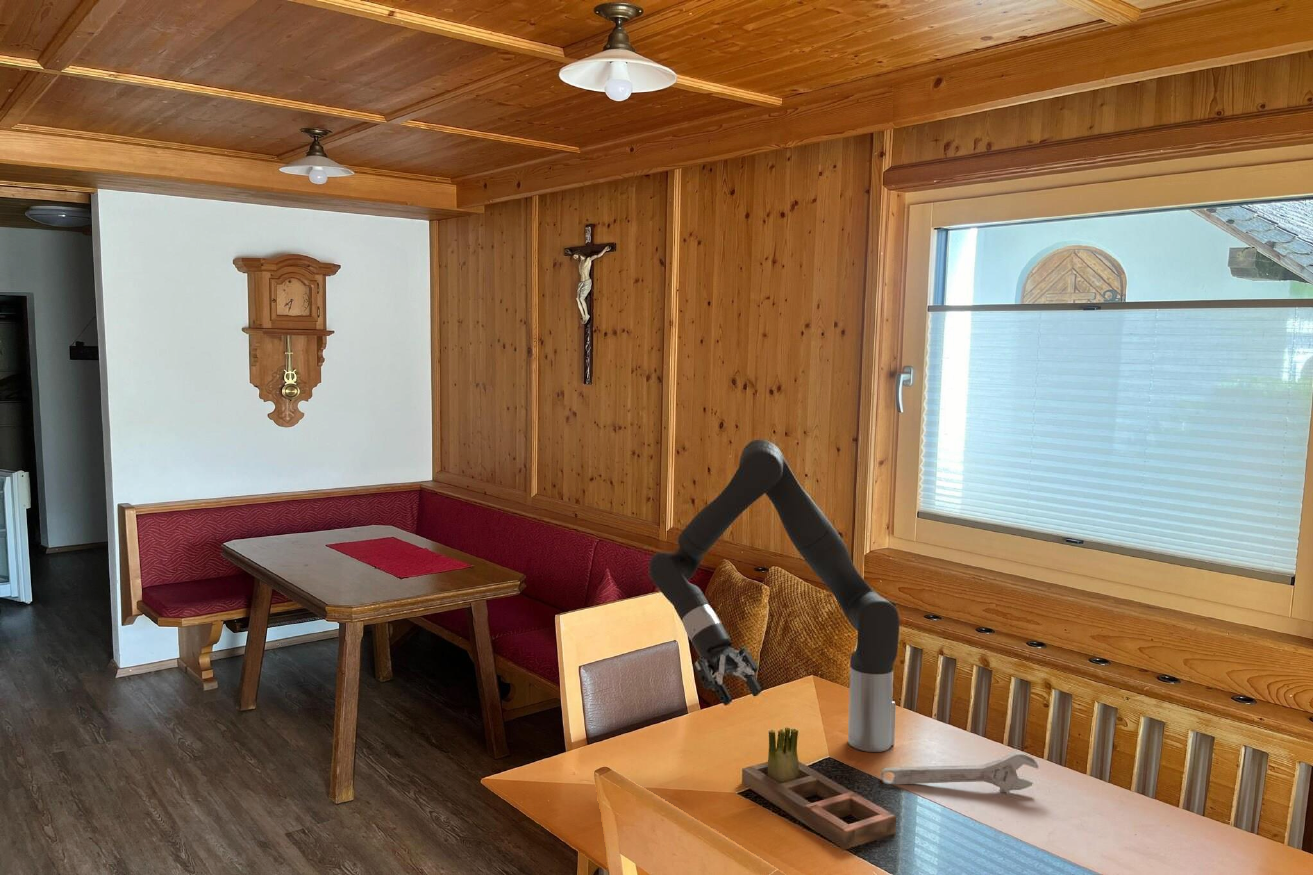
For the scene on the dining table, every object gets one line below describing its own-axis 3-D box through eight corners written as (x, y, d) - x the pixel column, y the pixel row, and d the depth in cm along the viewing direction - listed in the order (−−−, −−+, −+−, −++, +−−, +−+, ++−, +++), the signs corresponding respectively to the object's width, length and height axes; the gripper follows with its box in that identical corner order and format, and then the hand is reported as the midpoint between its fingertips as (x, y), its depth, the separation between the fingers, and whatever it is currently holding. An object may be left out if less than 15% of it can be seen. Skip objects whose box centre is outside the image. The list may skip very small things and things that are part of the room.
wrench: (882, 794, 191) (1038, 790, 186) (883, 798, 189) (1040, 794, 184) (878, 755, 191) (1035, 750, 185) (879, 758, 189) (1037, 754, 184)
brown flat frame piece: (789, 770, 195) (789, 754, 194) (895, 833, 169) (896, 815, 169) (741, 782, 189) (742, 766, 188) (844, 850, 163) (845, 831, 163)
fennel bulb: (765, 790, 186) (767, 730, 185) (771, 779, 190) (772, 721, 189) (795, 795, 184) (796, 734, 183) (800, 784, 188) (801, 725, 187)
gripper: (690, 627, 195) (728, 697, 187) (738, 616, 204) (777, 682, 197) (672, 647, 199) (709, 715, 192) (720, 635, 209) (757, 700, 201)
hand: (743, 698), depth 194 cm, fingers open, 8 cm apart
